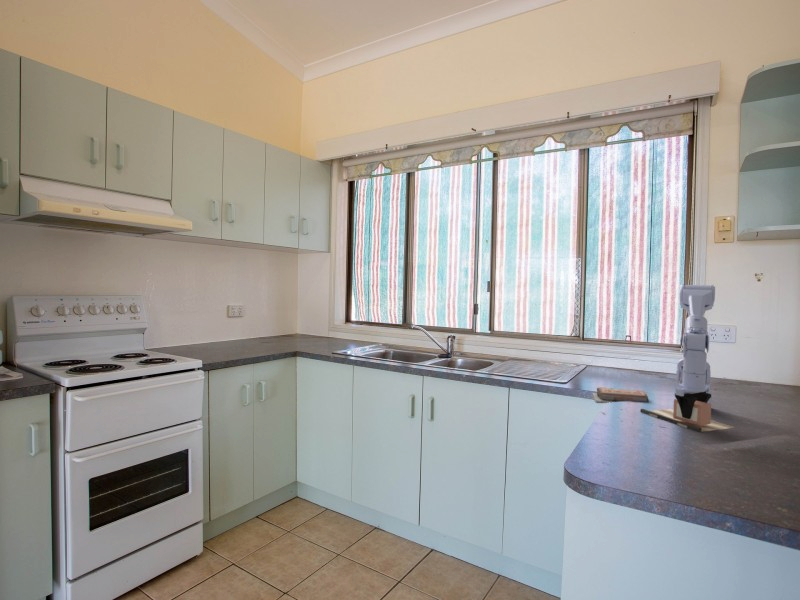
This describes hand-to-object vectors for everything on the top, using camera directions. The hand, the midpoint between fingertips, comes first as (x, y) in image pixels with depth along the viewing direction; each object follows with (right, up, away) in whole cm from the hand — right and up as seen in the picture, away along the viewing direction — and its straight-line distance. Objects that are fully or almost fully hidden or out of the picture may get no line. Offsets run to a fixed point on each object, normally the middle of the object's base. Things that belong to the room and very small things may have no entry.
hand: (692, 416), depth 133 cm
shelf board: (+1, -4, +5) cm, 6 cm away
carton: (0, -1, 0) cm, 1 cm away
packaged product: (-7, -3, +30) cm, 31 cm away
